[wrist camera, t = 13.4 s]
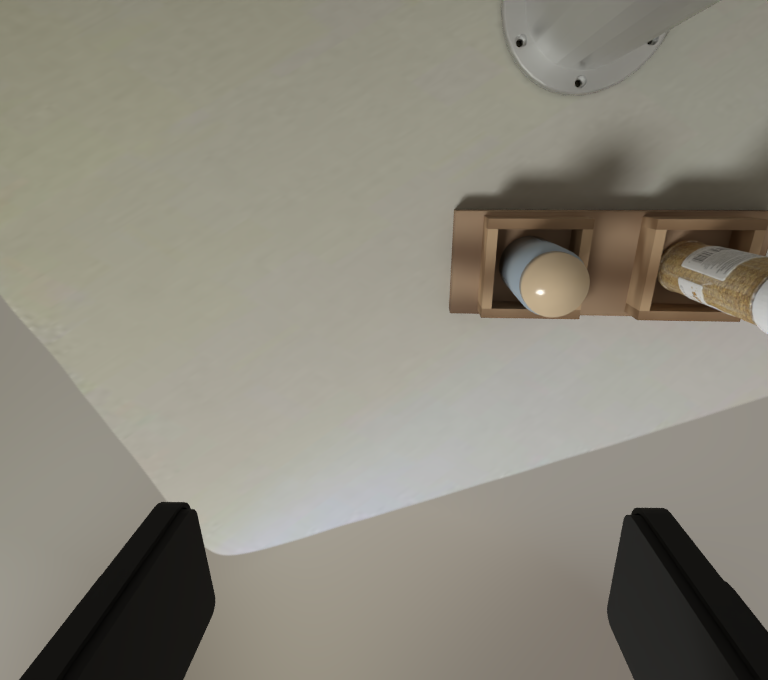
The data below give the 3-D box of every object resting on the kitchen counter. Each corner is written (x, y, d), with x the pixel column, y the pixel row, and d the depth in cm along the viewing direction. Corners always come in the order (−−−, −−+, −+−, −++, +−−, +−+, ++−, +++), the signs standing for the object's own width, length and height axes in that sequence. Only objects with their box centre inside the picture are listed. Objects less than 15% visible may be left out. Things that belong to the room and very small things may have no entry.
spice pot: (501, 235, 38) (523, 250, 30) (561, 235, 38) (598, 250, 30) (496, 292, 40) (516, 319, 32) (553, 293, 39) (586, 320, 32)
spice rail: (454, 209, 39) (458, 213, 35) (764, 210, 37) (804, 214, 34) (449, 308, 42) (452, 321, 38) (735, 312, 40) (768, 326, 37)
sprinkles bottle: (652, 294, 39) (768, 350, 26) (656, 241, 37) (782, 274, 25) (707, 288, 38) (852, 343, 26) (714, 235, 37) (872, 265, 24)
